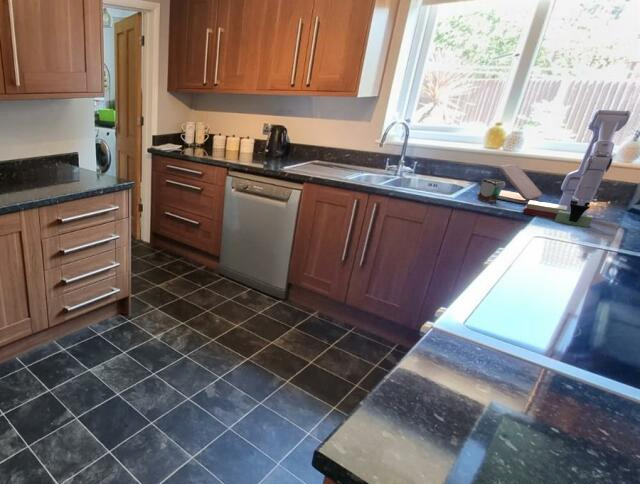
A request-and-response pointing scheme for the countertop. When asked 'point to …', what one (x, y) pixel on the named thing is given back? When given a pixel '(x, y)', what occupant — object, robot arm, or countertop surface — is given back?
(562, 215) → the green block
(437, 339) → the countertop surface
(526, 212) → the book stack
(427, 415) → the countertop surface
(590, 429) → the countertop surface
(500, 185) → the food container
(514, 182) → the case
